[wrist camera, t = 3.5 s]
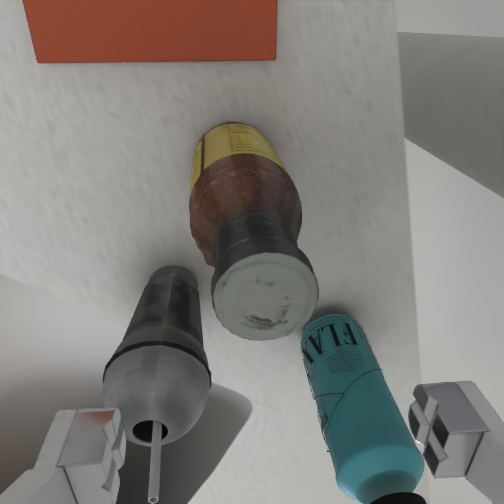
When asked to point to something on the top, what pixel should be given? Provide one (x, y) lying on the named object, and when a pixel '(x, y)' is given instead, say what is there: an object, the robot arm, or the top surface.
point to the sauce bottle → (250, 234)
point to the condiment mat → (152, 30)
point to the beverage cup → (160, 367)
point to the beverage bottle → (360, 415)
